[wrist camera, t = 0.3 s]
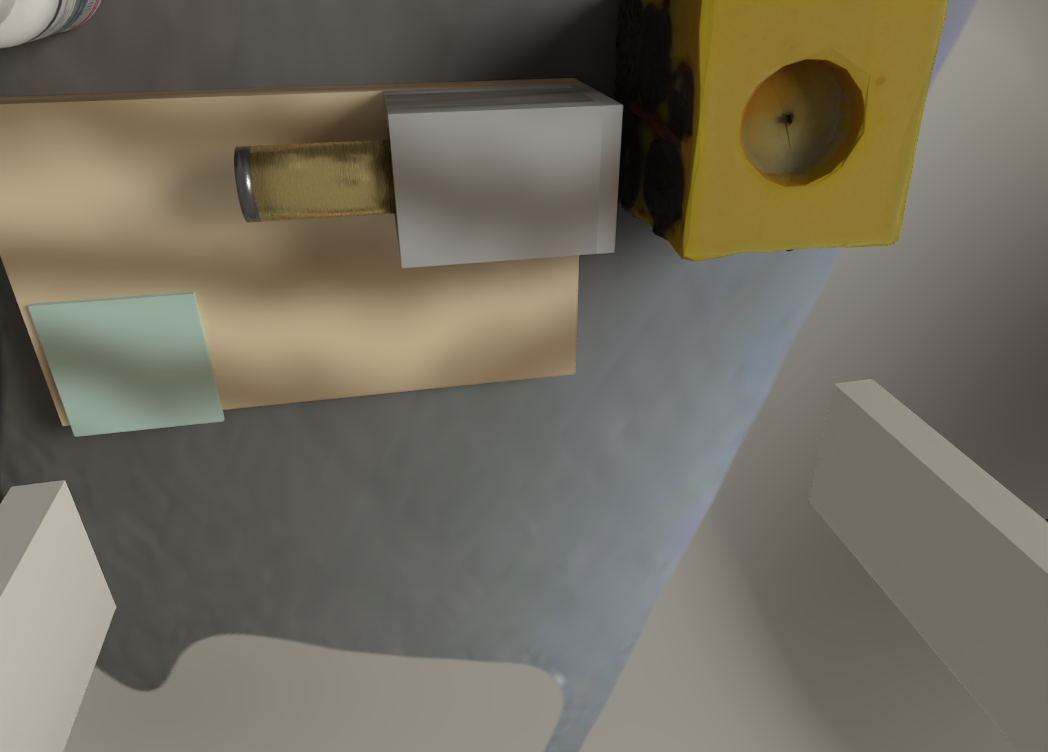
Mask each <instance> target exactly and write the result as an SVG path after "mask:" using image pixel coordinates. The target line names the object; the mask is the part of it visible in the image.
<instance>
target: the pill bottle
mask: <svg viewBox="0 0 1048 752" xmlns="http://www.w3.org/2000/svg"><path fill="white" fill-rule="evenodd" d="M100 2H101V0H0V48H5V47H12V46H17V45H21V44H24V43H27V42H31V41H34V40H38V39H41V38H44V37H48V36H51V35H55V34H59V33H63V32H66V31H70V30H72V29H74V28H77V27H78V26H80V25H82V24H83V23H85V22H86V21H87V20H88V19H89V18H90V17H91V16H92V15H93V14H94V13H95V11H96V10H97V8H98V7H99V5H100Z"/></svg>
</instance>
